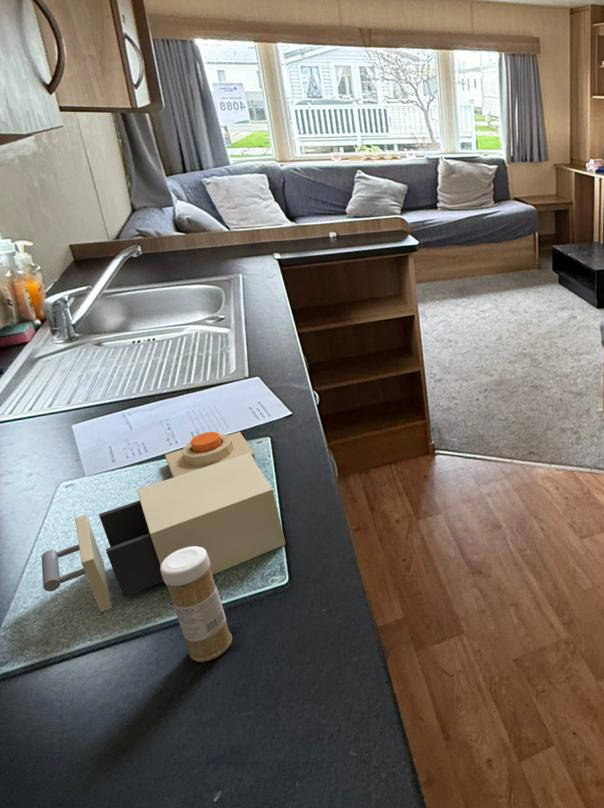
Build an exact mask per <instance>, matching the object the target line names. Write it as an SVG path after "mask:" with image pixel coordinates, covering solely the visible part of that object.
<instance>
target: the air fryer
mask: <svg viewBox="0 0 604 808" xmlns="http://www.w3.org/2000/svg"><path fill="white" fill-rule="evenodd" d="M256 463H257V461H256V462H255V461H254V459H253V458H252V456H251V454H250V453H247V454H244V455H241V456H238V457H235V458H232V459H229V460H226V461H222V462H219V463H216V464H213V465H210V466H207V467H204V468H201V469H198V470H195V471H192V472H189V473H186V474H183V475H180V476H177V477H173V476H172V477H170V478H168V479H164V480H161V481H158V482H155V483H152V484H149V485H146V486H143V487H141V488H137V489H136V492H137V495H138V499H139V500H140V502H141V505H142V509H143V512H144V515H145V519H146V522H147V525H148V529H149V532H150V535H151V538H152V541H153V544H154V547H155V550H156V553H157V556H158V559H159V562H160V565H161V564H162V562H163V561H164V559H165V558H167V557H168V556H169V555H170V554H172V553H174V552H176V551H178V550H180V549H183V548H186V547H193V546H198V547H202V548H204V549H205V550H206V552H207V554H208V557H209V560H210V570H211V573H212V576H213V575H215V574H218V573H220V572H223V571H225V570H229V569H230V568H233V567H235V566H237V565H239V564H242V563H244V562H247V561H249V560H252V559H254V558H256V557H259V556H261V555H263V554H266V553H268V552H271V551H273V550H275V549H278V548H281V547H283V546H286V540H285V535H284V532H283V527H282V523H281V519H280V514H279V509H278V507H277V500H276V497H275V493H274V489H273V488H272V486H271V485H270V482H269V481H268V479H267V478H266V476H265V475H264V473H263V471H262V470H261V468H260V467H259V466H258V463H257V464H256ZM166 587H167V589H168V586H167V585H166ZM167 591H169V589H168V590H167Z"/></svg>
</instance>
